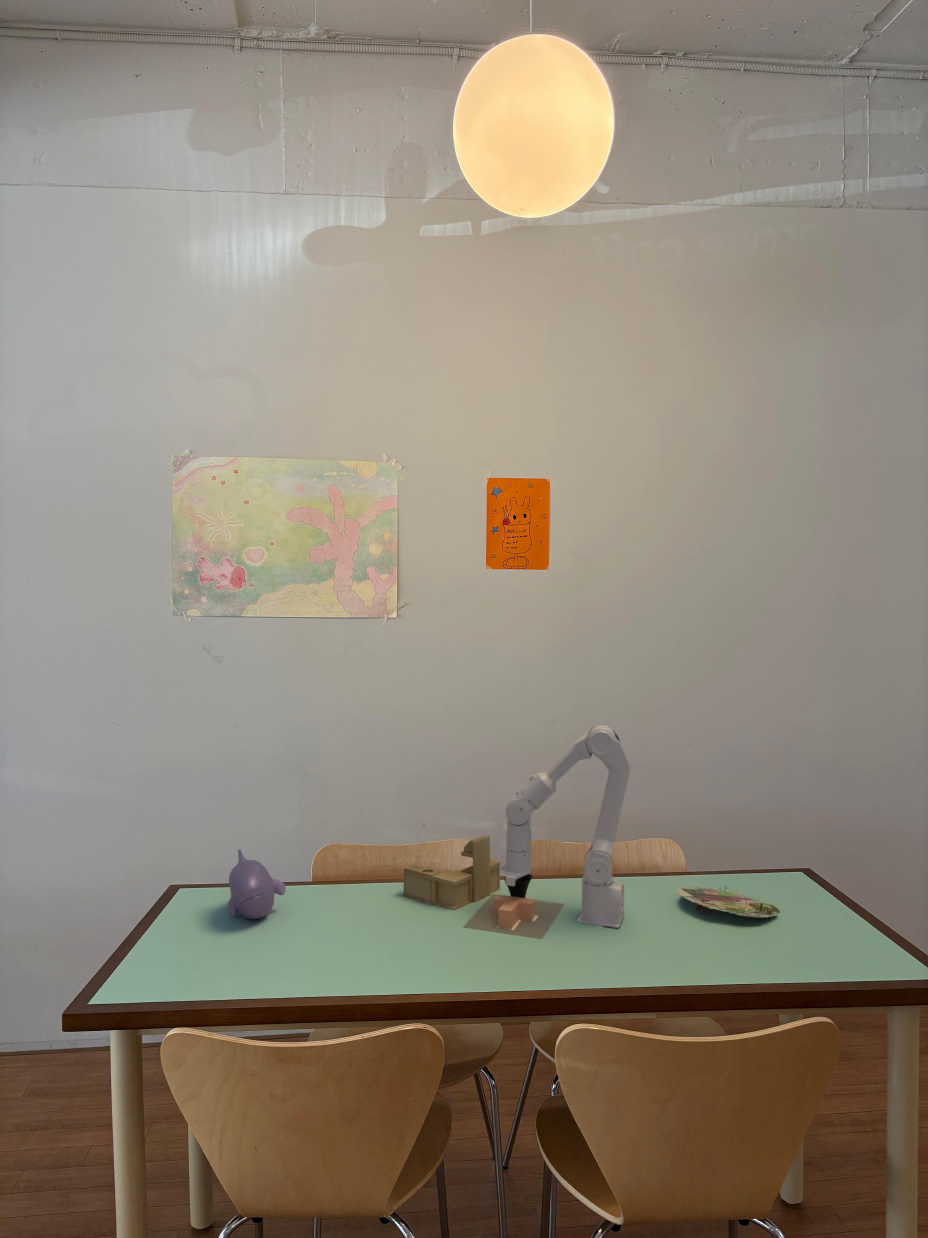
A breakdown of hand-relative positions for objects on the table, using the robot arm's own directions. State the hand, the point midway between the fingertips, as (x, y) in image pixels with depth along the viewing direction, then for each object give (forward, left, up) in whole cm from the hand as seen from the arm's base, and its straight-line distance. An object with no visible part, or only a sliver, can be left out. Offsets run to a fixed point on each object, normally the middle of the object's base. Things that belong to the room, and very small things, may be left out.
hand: (518, 907), depth 192 cm
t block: (0, +6, -1) cm, 6 cm away
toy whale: (+57, +20, -2) cm, 61 cm away
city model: (-46, -21, -2) cm, 50 cm away
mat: (0, +2, -1) cm, 3 cm away
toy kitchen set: (+18, -7, -2) cm, 20 cm away
